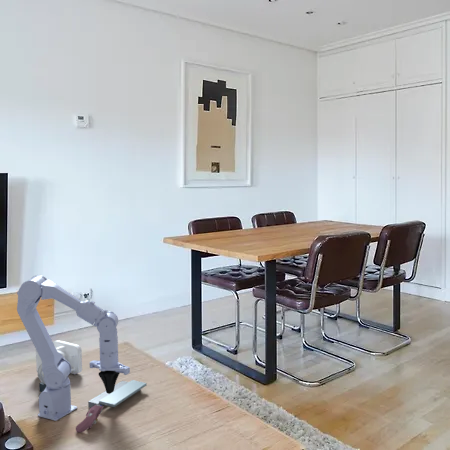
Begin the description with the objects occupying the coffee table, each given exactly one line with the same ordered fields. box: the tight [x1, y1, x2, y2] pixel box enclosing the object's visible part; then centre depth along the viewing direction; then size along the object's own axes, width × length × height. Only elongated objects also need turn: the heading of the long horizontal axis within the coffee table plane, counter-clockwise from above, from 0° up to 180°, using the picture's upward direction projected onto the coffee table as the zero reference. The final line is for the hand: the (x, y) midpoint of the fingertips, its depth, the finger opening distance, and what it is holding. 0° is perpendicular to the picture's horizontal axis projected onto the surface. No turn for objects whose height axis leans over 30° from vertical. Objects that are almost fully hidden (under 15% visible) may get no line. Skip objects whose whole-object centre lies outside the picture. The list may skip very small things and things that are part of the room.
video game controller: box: [75, 404, 104, 433], centre depth 147 cm, size 10×5×7 cm, turn 175°
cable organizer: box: [35, 339, 83, 377], centre depth 185 cm, size 15×11×12 cm
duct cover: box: [99, 379, 148, 408], centre depth 164 cm, size 18×6×1 cm, turn 155°
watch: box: [37, 364, 46, 393], centre depth 171 cm, size 6×8×11 cm
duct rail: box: [87, 380, 142, 409], centre depth 166 cm, size 18×8×2 cm, turn 155°
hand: (110, 392), depth 157 cm, fingers closed
